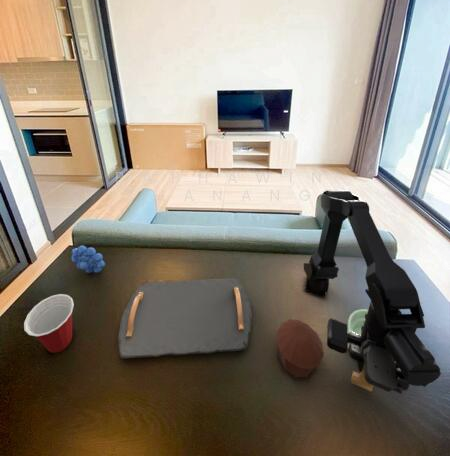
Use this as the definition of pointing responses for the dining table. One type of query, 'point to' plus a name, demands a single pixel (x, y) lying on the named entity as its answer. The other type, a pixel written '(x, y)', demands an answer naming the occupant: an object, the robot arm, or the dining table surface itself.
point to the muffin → (299, 348)
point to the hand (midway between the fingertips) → (365, 371)
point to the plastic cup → (51, 322)
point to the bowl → (356, 321)
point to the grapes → (87, 259)
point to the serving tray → (185, 319)
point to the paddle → (361, 380)
